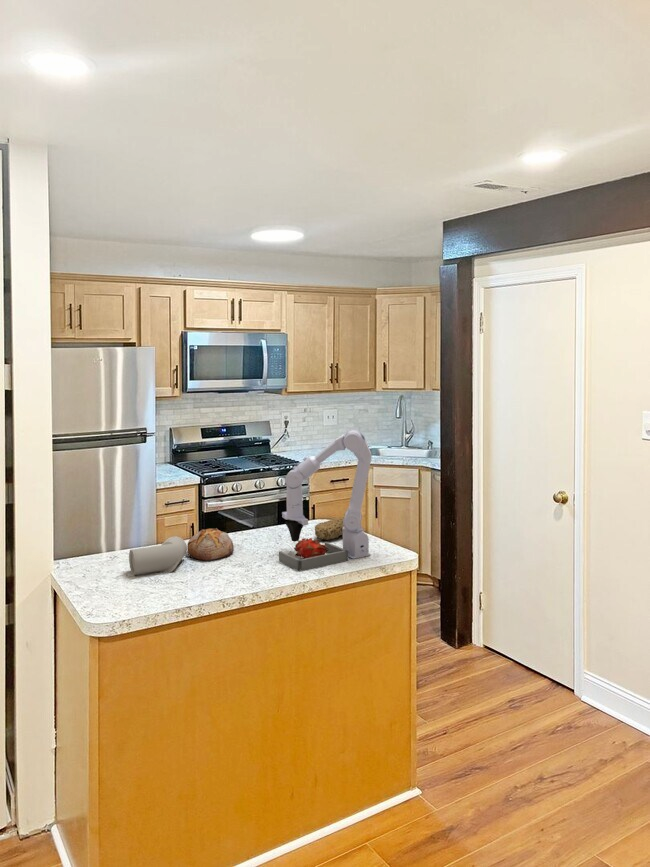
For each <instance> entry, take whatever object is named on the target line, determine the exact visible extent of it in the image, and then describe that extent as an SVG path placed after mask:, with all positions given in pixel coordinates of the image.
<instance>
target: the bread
mask: <svg viewBox="0 0 650 867" xmlns="http://www.w3.org/2000/svg"><path fill="white" fill-rule="evenodd" d="M233 542H234V541H233V540H232V538H231V537H230V535H229V534H228V533H227V532H225V531H221V530H219V529H218V528H217V527H216V528H206V529H201V530H200V531H198V532H197V533H196V534H194V535H193V536H191V537H190V538H189V540H188V542H187V543H186V545H187V554H188V556H189V557H190V558H191V559H194V560H198V561H205V562H210V561H214V560H219V559H222V558H225V557H229V556H230V555H232V554H234V550H235V549H234V548H235V546H234V545H235V544H234V543H233Z"/></svg>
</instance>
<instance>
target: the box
mask: <svg viewBox="0 0 650 867" xmlns="http://www.w3.org/2000/svg"><path fill="white" fill-rule="evenodd" d="M324 545H325V546H326V547H327V548H328V549H327V550H329V551H327V552H326V553H325V555H320V556H315V557H310V558H305V559H303V558H301V559H299V558H298V557H295V556H292V555H290V554H288V553H286V552H285V551H282V550H279V551H278V562H279V563H281V564H283V565H285V566H288V567H290V568H292V569H293V570H296V571H298V572H302V571H306V570H311V568H312V569H316V568H319V567H326V566H329V565H334V564H337V563H338V564H339V563H343V562H349V557H348V550H345V549H343V547H340V546H337V545H335V544H333V543H330V542H329V541H328V542H327V541H326V542H325V541H324Z"/></svg>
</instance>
